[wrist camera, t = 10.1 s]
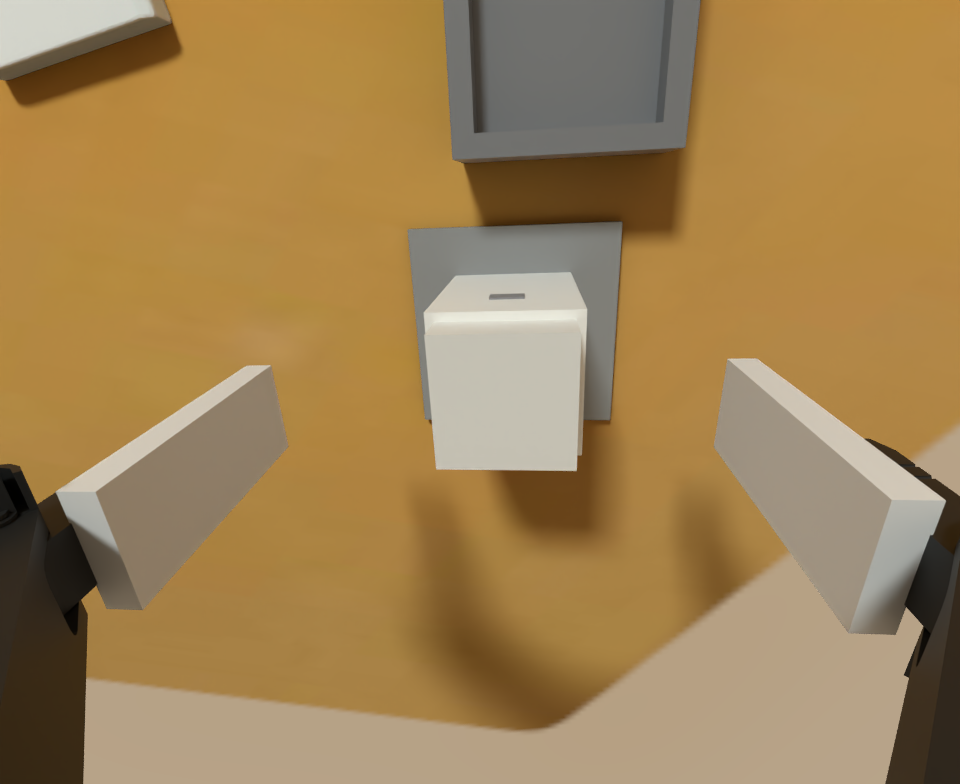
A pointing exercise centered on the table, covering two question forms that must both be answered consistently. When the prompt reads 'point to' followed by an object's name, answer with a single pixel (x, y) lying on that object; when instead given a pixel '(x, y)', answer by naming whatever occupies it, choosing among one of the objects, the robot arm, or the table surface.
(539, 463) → the block
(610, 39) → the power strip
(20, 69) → the external hard drive
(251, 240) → the table surface
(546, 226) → the mat
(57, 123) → the table surface
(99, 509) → the robot arm
